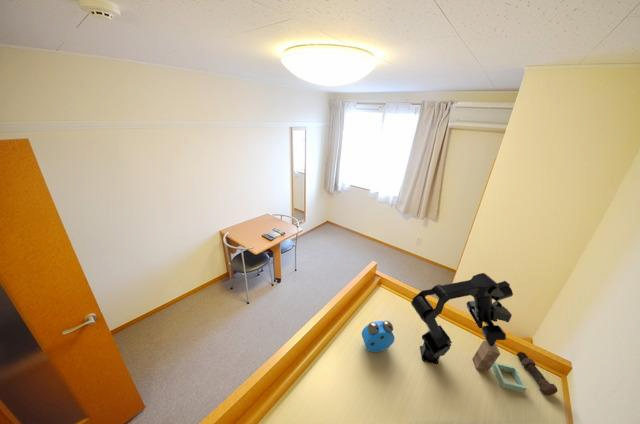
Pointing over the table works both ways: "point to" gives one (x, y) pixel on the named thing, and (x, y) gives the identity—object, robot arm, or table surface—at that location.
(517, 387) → the collar
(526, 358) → the bolt
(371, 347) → the alarm clock
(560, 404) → the table surface
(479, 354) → the peg
